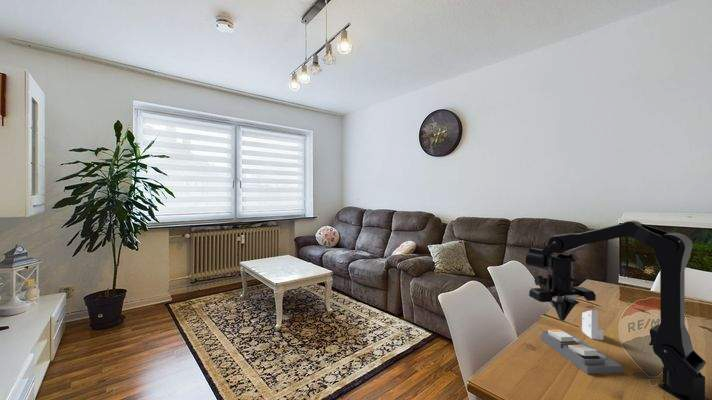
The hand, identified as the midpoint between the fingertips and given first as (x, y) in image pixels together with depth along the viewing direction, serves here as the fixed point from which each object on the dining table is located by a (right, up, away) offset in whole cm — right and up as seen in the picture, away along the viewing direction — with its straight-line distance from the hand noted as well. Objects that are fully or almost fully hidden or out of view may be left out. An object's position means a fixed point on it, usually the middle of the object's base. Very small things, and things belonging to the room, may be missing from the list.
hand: (561, 320), depth 96 cm
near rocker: (-1, -6, -10) cm, 11 cm away
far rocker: (-1, -5, -1) cm, 6 cm away
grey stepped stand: (+1, -9, -5) cm, 10 cm away
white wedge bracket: (+16, -8, +7) cm, 19 cm away
